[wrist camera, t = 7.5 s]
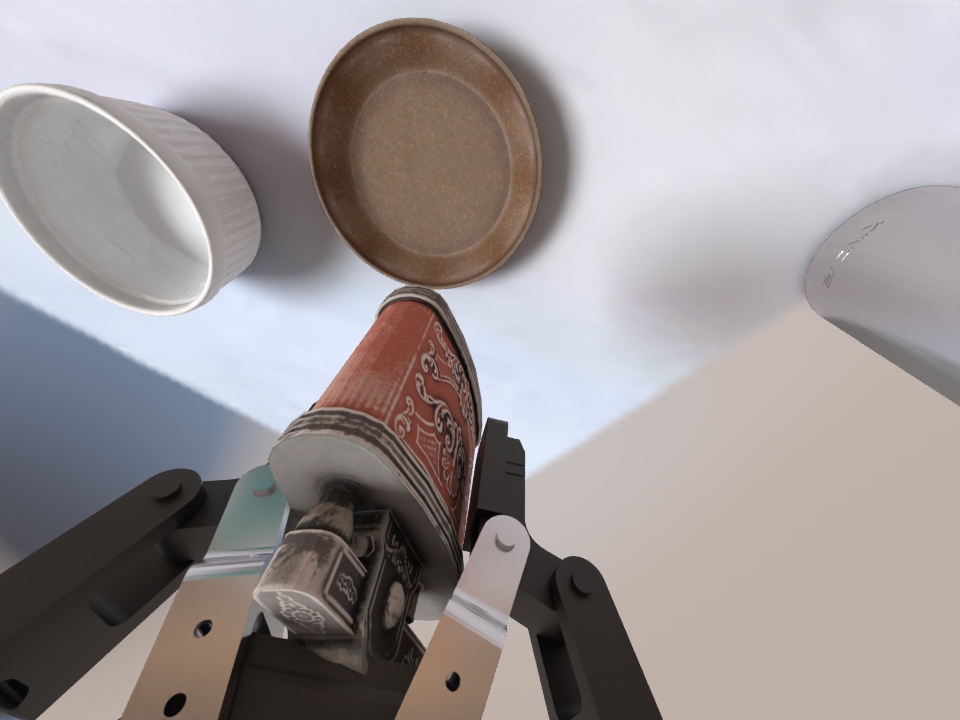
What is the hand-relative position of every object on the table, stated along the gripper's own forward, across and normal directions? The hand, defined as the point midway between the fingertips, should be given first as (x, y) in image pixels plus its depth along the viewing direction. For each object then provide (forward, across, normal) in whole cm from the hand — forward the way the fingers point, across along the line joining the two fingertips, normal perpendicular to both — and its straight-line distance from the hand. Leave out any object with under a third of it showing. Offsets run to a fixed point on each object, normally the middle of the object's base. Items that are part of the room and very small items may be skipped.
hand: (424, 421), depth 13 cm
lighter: (+3, 0, 0) cm, 3 cm away
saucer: (+18, +4, -5) cm, 19 cm away
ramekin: (+18, +22, 0) cm, 29 cm away
